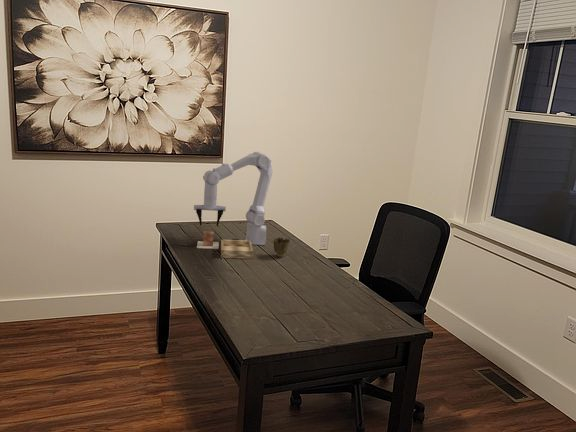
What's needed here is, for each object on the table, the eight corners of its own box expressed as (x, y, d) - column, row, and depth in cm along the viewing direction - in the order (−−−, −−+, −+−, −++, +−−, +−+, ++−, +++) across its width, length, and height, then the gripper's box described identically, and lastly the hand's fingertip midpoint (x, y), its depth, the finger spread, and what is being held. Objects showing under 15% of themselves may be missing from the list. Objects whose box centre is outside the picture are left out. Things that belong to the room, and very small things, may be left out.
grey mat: (218, 242, 254) (218, 242, 254) (218, 249, 244) (218, 248, 244) (197, 241, 252) (197, 241, 252) (196, 248, 243) (196, 247, 243)
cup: (269, 256, 240) (270, 239, 238) (275, 252, 246) (277, 236, 244) (284, 259, 237) (286, 243, 235) (290, 255, 244) (292, 239, 242)
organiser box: (250, 247, 250) (250, 240, 249) (252, 258, 235) (253, 251, 234) (220, 246, 248) (221, 239, 247) (220, 257, 233) (221, 249, 232)
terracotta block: (212, 243, 251) (213, 231, 249) (212, 246, 246) (213, 234, 245) (203, 243, 250) (203, 230, 249) (203, 245, 246) (203, 233, 244)
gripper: (194, 197, 238) (192, 226, 241) (226, 199, 240) (224, 228, 243) (194, 194, 245) (193, 222, 248) (226, 196, 247) (224, 224, 250)
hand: (209, 225), depth 246 cm, fingers open, 7 cm apart
